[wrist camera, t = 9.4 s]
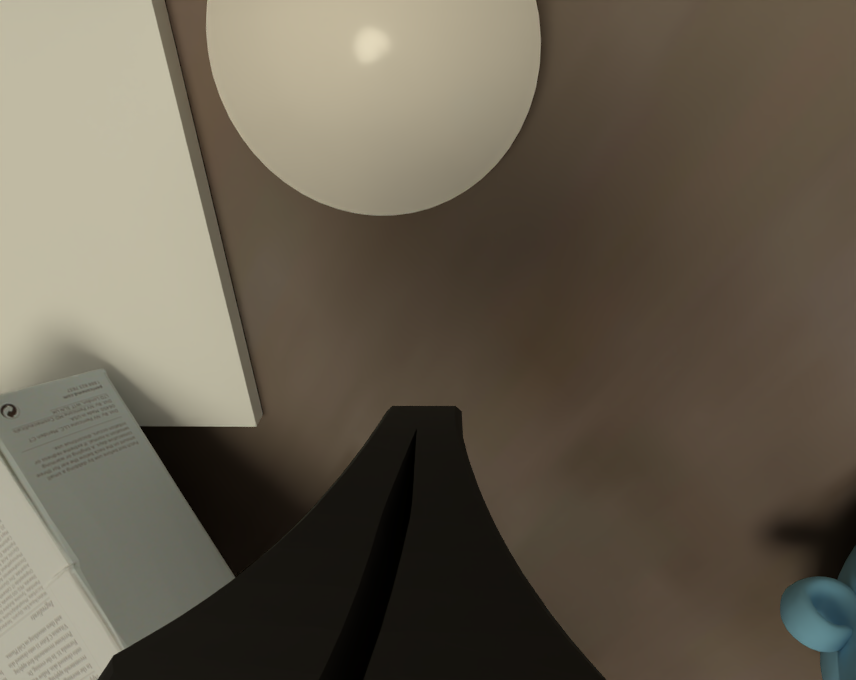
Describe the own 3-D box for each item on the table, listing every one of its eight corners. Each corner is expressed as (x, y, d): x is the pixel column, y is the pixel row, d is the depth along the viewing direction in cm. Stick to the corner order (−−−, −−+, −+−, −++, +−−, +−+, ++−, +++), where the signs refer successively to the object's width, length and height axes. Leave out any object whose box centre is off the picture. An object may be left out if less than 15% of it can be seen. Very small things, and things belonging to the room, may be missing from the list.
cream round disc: (601, 58, 19) (610, 67, 18) (381, 250, 23) (376, 270, 21) (375, -242, 16) (365, -256, 14) (163, 40, 19) (141, 49, 18)
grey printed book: (-83, 570, 34) (65, 851, 32) (-220, 628, 29) (-55, 962, 28) (121, 359, 25) (347, 743, 23) (-33, 395, 20) (239, 883, 18)
